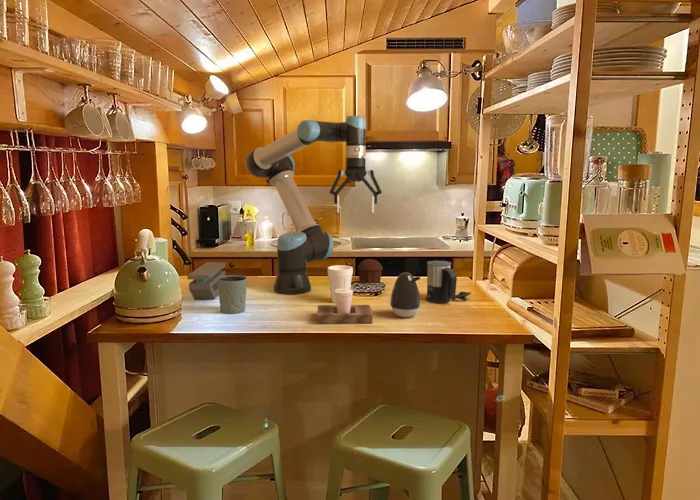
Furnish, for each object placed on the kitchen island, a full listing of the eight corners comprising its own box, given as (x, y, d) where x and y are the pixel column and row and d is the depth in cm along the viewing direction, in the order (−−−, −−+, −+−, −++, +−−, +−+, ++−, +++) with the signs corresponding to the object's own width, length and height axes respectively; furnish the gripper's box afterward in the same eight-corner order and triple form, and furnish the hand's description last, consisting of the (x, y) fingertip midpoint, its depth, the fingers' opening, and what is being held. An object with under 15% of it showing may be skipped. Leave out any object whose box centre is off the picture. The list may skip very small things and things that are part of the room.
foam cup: (356, 299, 199) (356, 266, 197) (346, 305, 191) (346, 271, 188) (334, 297, 203) (334, 264, 201) (323, 302, 195) (323, 268, 192)
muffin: (355, 279, 233) (356, 257, 232) (380, 278, 235) (380, 257, 233) (359, 285, 222) (359, 262, 220) (384, 285, 223) (385, 262, 221)
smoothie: (351, 322, 171) (351, 280, 169) (332, 320, 173) (332, 279, 170) (354, 316, 178) (354, 276, 175) (336, 315, 179) (336, 275, 176)
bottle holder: (317, 324, 169) (317, 315, 168) (317, 313, 181) (317, 305, 180) (372, 323, 170) (372, 314, 169) (369, 313, 182) (369, 304, 181)
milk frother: (420, 300, 199) (421, 262, 196) (444, 293, 210) (445, 257, 207) (452, 307, 189) (453, 267, 187) (475, 299, 200) (477, 262, 198)
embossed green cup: (216, 308, 186) (215, 276, 184) (244, 305, 190) (243, 273, 188) (221, 316, 177) (220, 282, 175) (250, 313, 181) (249, 279, 179)
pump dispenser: (412, 321, 172) (413, 277, 170) (384, 316, 178) (385, 273, 175) (425, 314, 181) (426, 271, 178) (398, 309, 186) (399, 268, 183)
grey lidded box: (207, 287, 217) (206, 262, 215) (226, 287, 217) (225, 262, 215) (188, 303, 192) (187, 275, 191) (209, 304, 192) (208, 275, 190)
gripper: (323, 157, 195) (323, 213, 199) (389, 157, 197) (388, 213, 200) (323, 157, 203) (323, 211, 206) (386, 157, 204) (385, 211, 208)
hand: (355, 212), depth 203 cm, fingers open, 13 cm apart
